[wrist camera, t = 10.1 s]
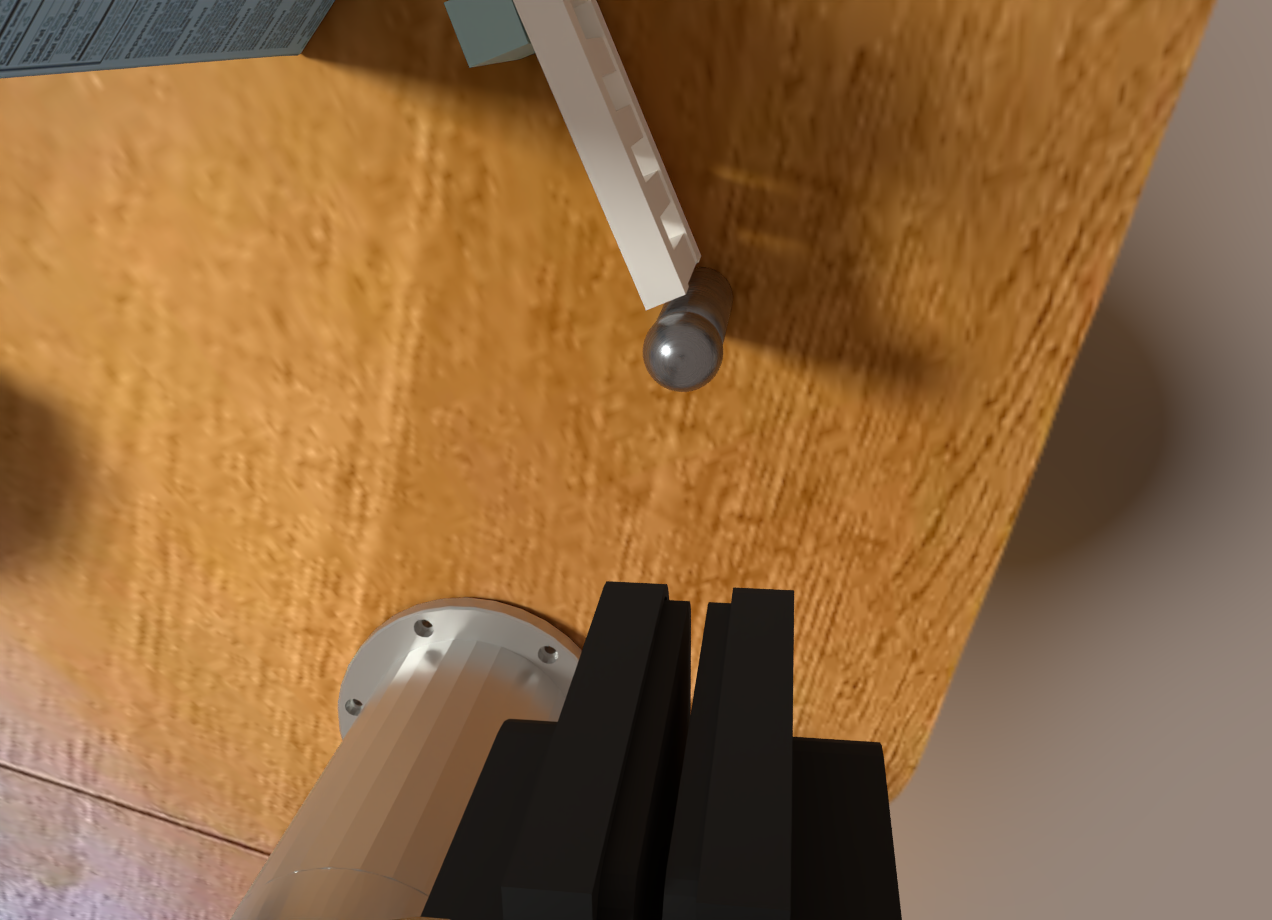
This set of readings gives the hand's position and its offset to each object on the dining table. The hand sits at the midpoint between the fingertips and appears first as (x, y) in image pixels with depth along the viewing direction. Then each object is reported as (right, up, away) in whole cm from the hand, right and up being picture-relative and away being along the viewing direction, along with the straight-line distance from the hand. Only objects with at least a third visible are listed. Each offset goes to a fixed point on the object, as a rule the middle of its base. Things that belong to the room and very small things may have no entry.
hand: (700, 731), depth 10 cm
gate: (-1, +15, +32) cm, 35 cm away
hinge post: (+2, +9, +34) cm, 35 cm away
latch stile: (-4, +18, +32) cm, 37 cm away
